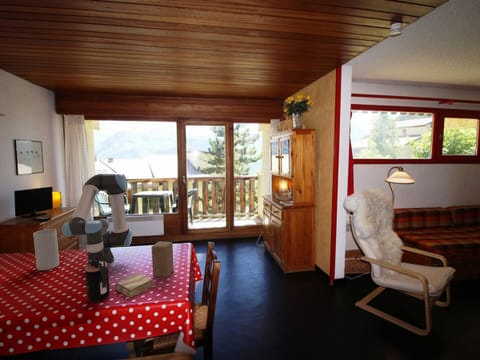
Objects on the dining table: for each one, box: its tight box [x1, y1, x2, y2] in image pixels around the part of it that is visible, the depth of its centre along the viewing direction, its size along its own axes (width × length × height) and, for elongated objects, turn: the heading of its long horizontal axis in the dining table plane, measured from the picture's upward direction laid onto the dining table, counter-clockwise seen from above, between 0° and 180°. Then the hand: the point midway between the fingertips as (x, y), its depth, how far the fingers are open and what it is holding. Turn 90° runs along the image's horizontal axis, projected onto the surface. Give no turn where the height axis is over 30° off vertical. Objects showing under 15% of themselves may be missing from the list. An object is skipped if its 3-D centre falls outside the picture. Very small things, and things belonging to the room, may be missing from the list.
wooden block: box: [151, 240, 175, 278], centre depth 161 cm, size 10×10×20 cm
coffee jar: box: [84, 262, 111, 304], centre depth 135 cm, size 11×11×18 cm
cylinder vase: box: [32, 228, 60, 271], centre depth 174 cm, size 12×12×25 cm
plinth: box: [115, 272, 155, 298], centre depth 146 cm, size 15×15×4 cm
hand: (98, 289), depth 136 cm, fingers closed on coffee jar, 11 cm apart
